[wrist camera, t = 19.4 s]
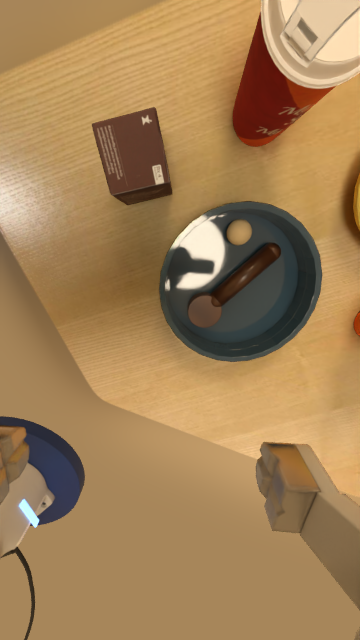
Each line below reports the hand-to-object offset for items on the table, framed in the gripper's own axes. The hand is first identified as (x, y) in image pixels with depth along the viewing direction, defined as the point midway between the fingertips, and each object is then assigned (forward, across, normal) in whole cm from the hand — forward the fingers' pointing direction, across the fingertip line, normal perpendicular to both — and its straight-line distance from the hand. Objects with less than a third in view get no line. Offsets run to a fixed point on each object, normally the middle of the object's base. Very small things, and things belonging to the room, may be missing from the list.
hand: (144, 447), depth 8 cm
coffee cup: (+26, -8, -21) cm, 35 cm away
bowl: (+26, -8, -2) cm, 28 cm away
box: (+27, +4, -14) cm, 30 cm away
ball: (+24, -8, -8) cm, 27 cm away
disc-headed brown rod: (+26, -8, -1) cm, 27 cm away
